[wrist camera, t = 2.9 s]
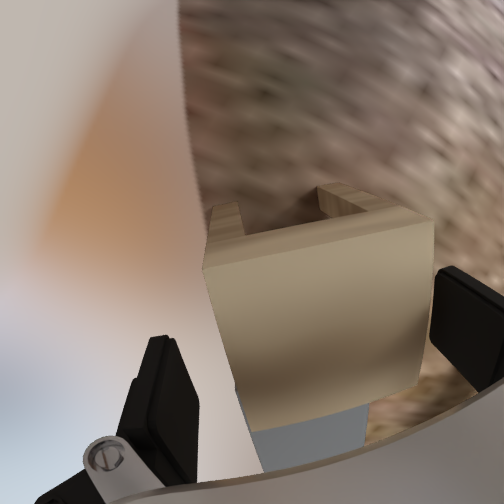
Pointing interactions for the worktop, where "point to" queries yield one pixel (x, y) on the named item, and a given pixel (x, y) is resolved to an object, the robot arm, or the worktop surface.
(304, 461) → the mat
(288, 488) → the robot arm
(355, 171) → the worktop surface
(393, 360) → the wooden u-shaped block
